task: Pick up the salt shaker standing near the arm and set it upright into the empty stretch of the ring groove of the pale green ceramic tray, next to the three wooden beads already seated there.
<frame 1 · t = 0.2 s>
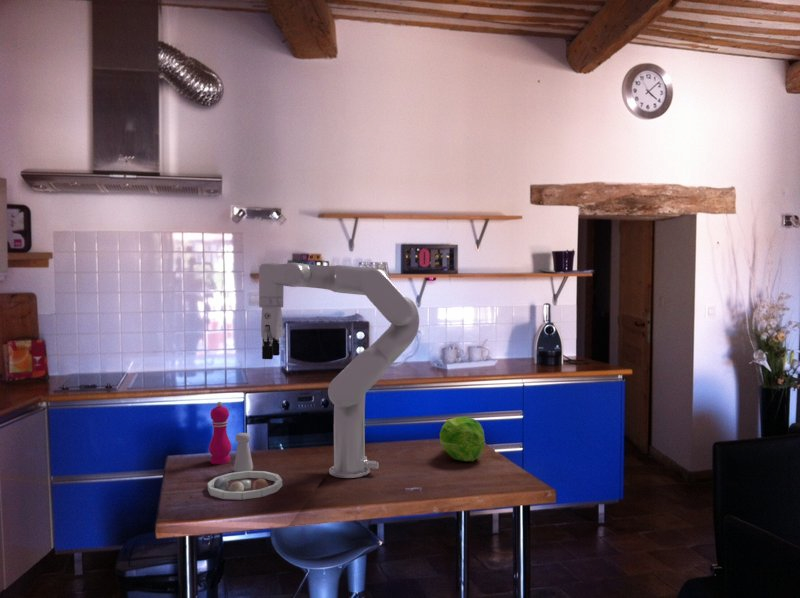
hand: (271, 357, 204), 36 cm above the table, tool pointing down, fingers open, 9 cm apart
bead cream: (238, 492, 179), point 2 cm above the table, tilted 44°, touching tray
pepper mill: (220, 462, 215), on the table
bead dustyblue: (227, 488, 181), point 2 cm above the table, tilted 59°, touching tray
lettuce: (459, 457, 220), on the table
bead terracotta: (254, 489, 180), point 2 cm above the table, tilted 59°, touching tray
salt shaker: (243, 476, 200), on the table
tray: (245, 491, 184), on the table
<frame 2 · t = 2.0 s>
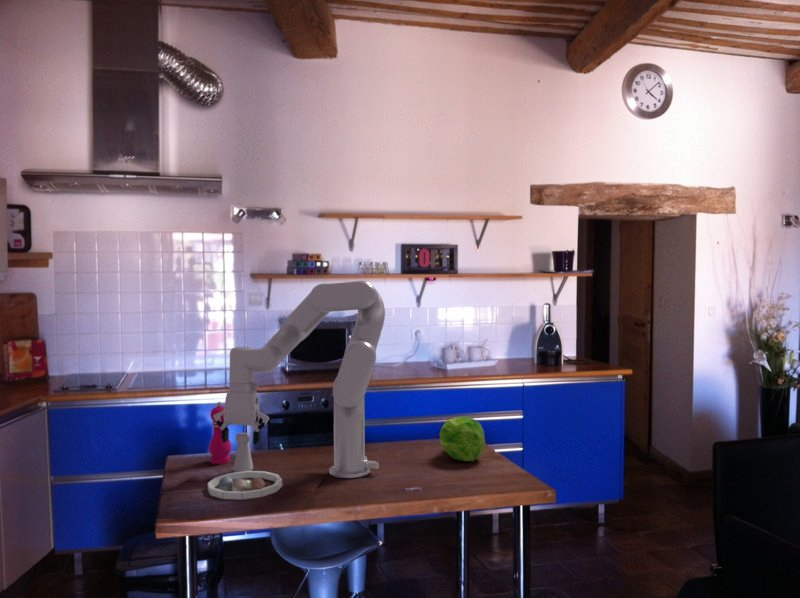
hand: (240, 442, 200), 10 cm above the table, tool pointing down, fingers open, 9 cm apart
bead cream: (238, 493, 179), point 1 cm above the table, tilted 20°, touching tray
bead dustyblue: (228, 490, 181), point 1 cm above the table, tilted 30°, touching tray
bead terracotta: (253, 491, 180), point 1 cm above the table, tilted 30°, touching tray
everything else where it was.
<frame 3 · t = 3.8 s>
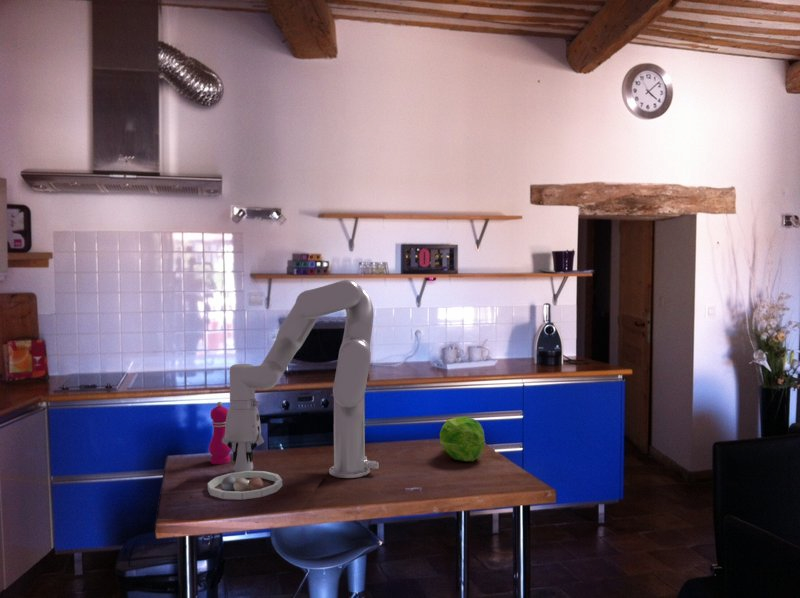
hand: (243, 463, 200), 4 cm above the table, tool pointing down, fingers closed on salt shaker, 3 cm apart
bead cream: (239, 491, 179), point 2 cm above the table, tilted 49°, touching tray
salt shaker: (243, 476, 200), on the table, touching gripper
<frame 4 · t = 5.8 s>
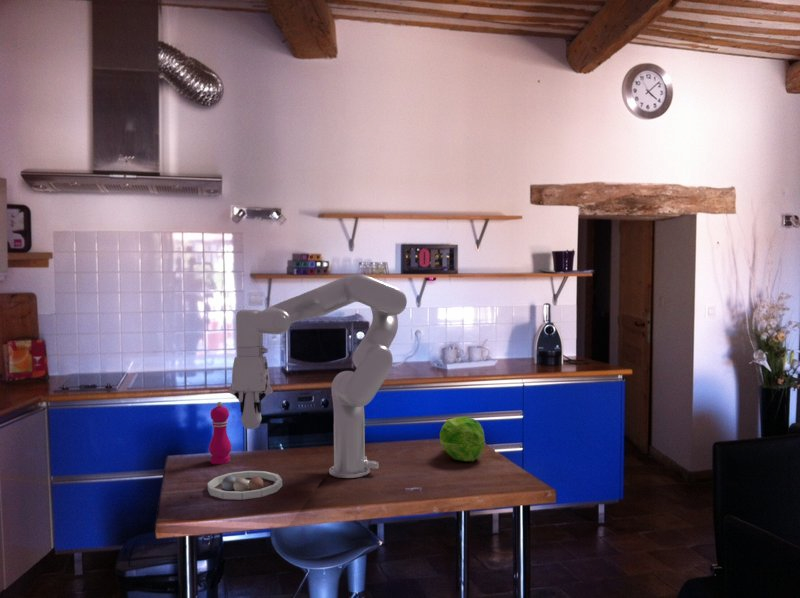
hand: (250, 414, 189), 21 cm above the table, tool pointing down, fingers closed on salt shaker, 3 cm apart
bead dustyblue: (228, 490, 181), point 1 cm above the table, tilted 39°, touching tray
bead terracotta: (253, 490, 181), point 1 cm above the table, tilted 38°, touching tray
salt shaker: (251, 428, 189), point 17 cm above the table, touching gripper
everything else where it was.
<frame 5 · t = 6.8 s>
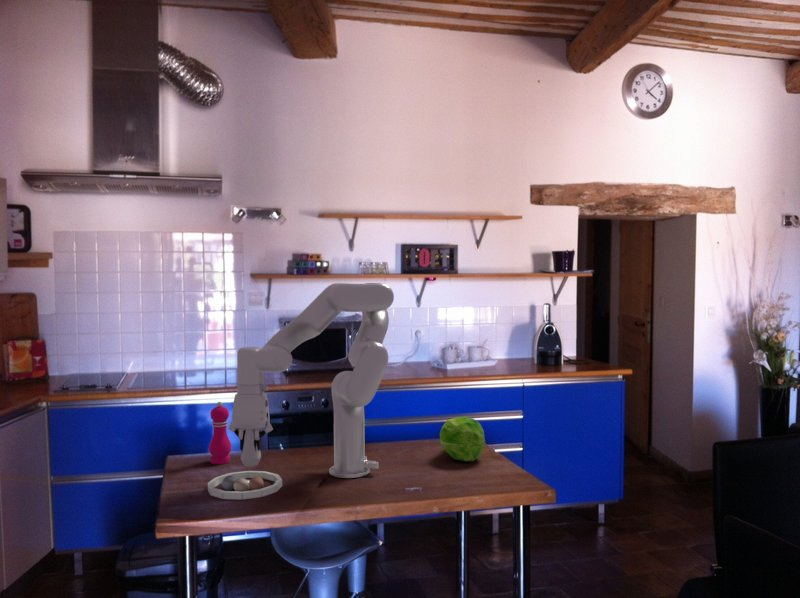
hand: (250, 451, 189), 10 cm above the table, tool pointing down, fingers closed on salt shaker, 3 cm apart
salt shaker: (250, 465, 189), point 6 cm above the table, touching gripper
everything else where it was.
when the fingers open (6 cm above the table, at t = 7.8 s): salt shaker stays where it is, resting on tray.
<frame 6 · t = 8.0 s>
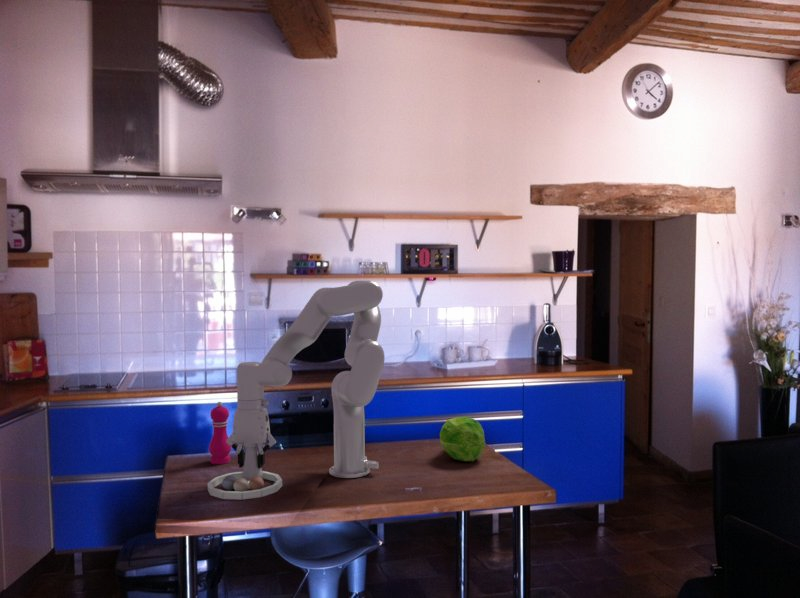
hand: (251, 466, 189), 6 cm above the table, tool pointing down, fingers open, 4 cm apart
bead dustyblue: (229, 489, 181), point 2 cm above the table, tilted 49°, touching tray
bead terracotta: (253, 490, 181), point 2 cm above the table, tilted 47°, touching tray
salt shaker: (252, 483, 189), point 1 cm above the table, touching tray
everything else where it was.
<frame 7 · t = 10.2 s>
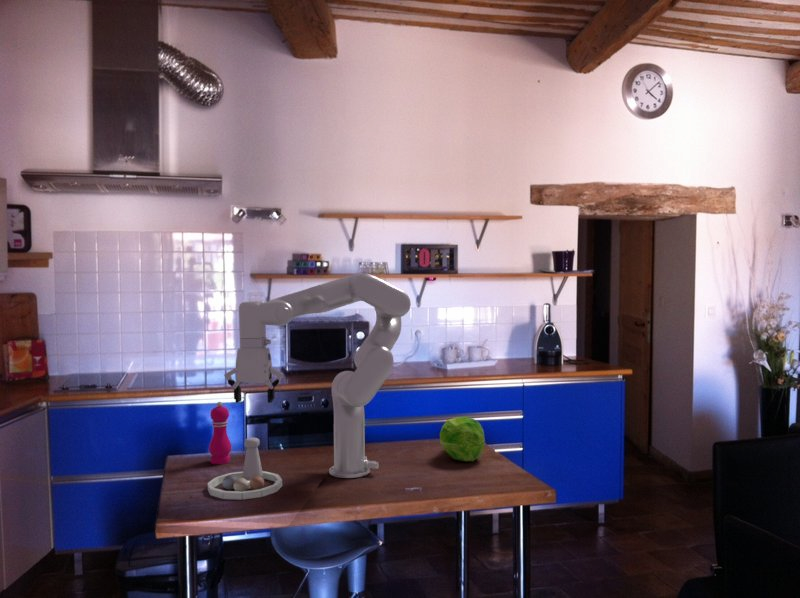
hand: (254, 401, 190), 24 cm above the table, tool pointing down, fingers open, 9 cm apart
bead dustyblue: (229, 487, 182), point 2 cm above the table, tilted 58°, touching tray
bead terracotta: (253, 488, 181), point 2 cm above the table, tilted 57°, touching tray
everything else where it was.
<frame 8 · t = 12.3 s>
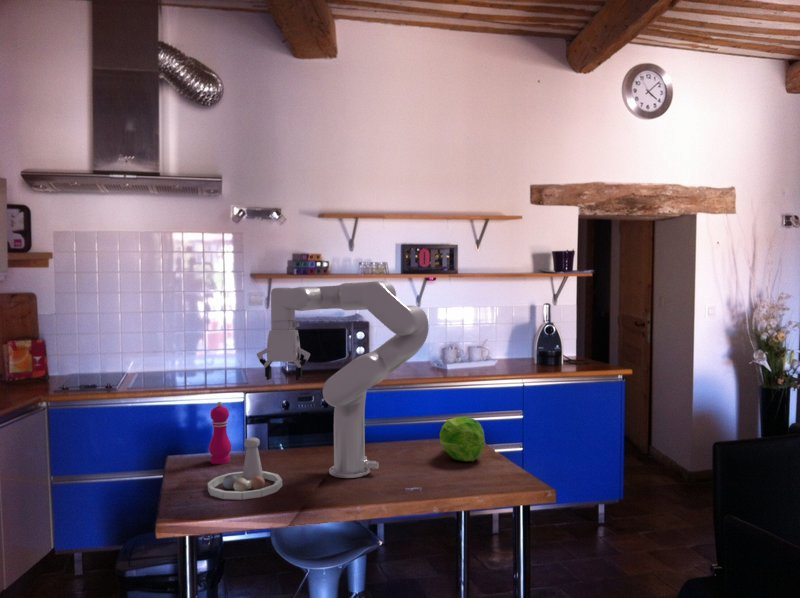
hand: (283, 379, 208), 28 cm above the table, tool pointing down, fingers open, 9 cm apart
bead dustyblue: (229, 486, 182), point 2 cm above the table, tilted 68°, touching tray
bead terracotta: (254, 487, 181), point 2 cm above the table, tilted 66°, touching tray
everything else where it was.
at the end: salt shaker inside the target area (0.4 cm from its centre), point 0.8 cm above the table; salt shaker tilted 0°; the gripper is holding nothing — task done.
